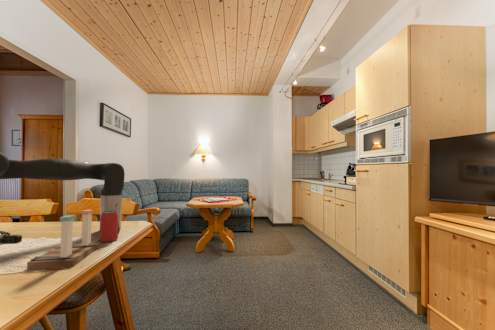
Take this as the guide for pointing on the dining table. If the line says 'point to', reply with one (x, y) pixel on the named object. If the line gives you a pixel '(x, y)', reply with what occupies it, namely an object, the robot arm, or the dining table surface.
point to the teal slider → (66, 235)
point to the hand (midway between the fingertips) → (20, 239)
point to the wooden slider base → (54, 260)
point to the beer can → (108, 226)
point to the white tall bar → (86, 226)
